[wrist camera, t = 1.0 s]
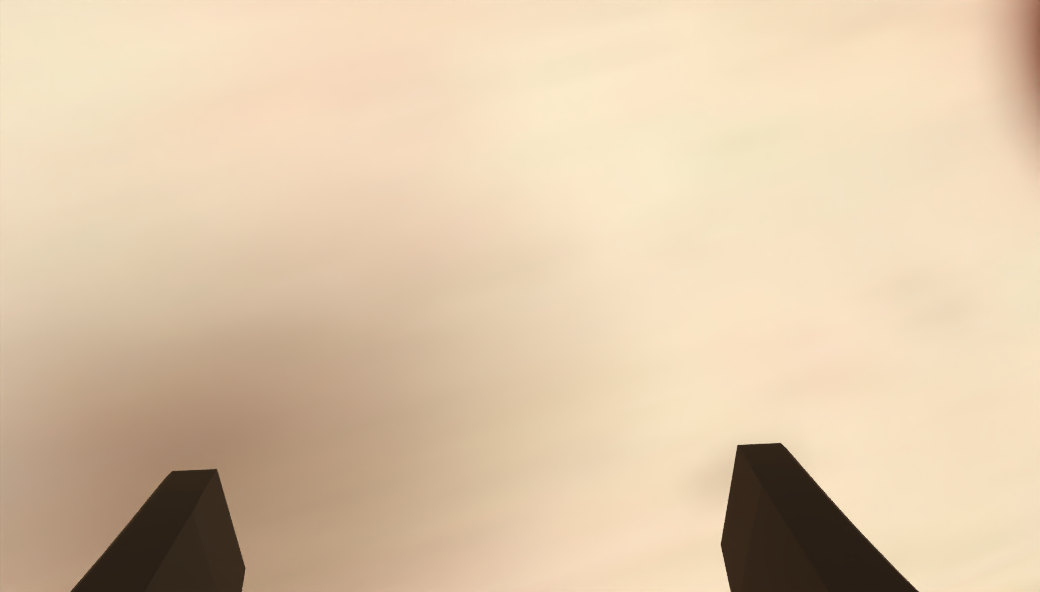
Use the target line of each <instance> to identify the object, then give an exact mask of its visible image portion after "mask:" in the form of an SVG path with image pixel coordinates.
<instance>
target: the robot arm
mask: <svg viewBox="0 0 1040 592" xmlns="http://www.w3.org/2000/svg"><path fill="white" fill-rule="evenodd" d="M721 548H722V553H723V557H724V562H725V567H726V572H727V576H728V581H729V586H730V590H731V592H918V591H917V590H916V589H915V588H914V587H913V586H912V585H911V584H910V583H909V582H908V581H907V580H906V579H905V578H904V577H903V576H902V575H901V574H900V573H899V572H898V571H897V570H896V569H895V568H894V566H893V565H892V564H891V563H890V562H889V561H888V560H887V559H886V558H885V557H884V556H883V555H882V554H881V553H880V552H879V551H878V550H877V549H876V548H875V547H874V546H873V545H872V544H871V543H870V541H869V540H868V539H867V538H866V537H865V536H864V535H863V534H862V533H861V532H860V531H859V530H858V529H857V528H856V527H855V526H854V524H853V523H852V522H851V521H850V520H849V519H848V518H847V517H846V516H845V515H844V513H843V512H842V511H841V510H840V509H839V508H838V507H837V506H836V505H835V503H834V502H833V501H832V500H831V499H830V498H829V497H828V496H827V494H826V493H825V492H824V491H823V490H822V489H821V488H820V486H819V485H818V484H817V483H816V482H815V481H814V480H813V478H812V477H811V476H810V475H809V474H808V473H807V472H806V470H805V469H804V468H803V467H802V466H801V465H800V463H799V462H798V461H797V460H796V459H795V458H794V457H793V455H792V454H791V453H790V452H789V451H788V450H787V449H786V448H785V447H784V446H783V445H782V444H781V443H772V444H750V445H737V451H736V457H735V463H734V469H733V475H732V481H731V487H730V493H729V499H728V505H727V511H726V517H725V523H724V529H723V535H722V541H721ZM244 574H245V566H244V562H243V559H242V555H241V552H240V548H239V545H238V541H237V538H236V534H235V531H234V527H233V524H232V520H231V517H230V513H229V510H228V506H227V503H226V499H225V496H224V492H223V489H222V485H221V482H220V478H219V475H218V471H217V469H210V470H188V471H172V472H171V473H170V474H169V475H168V476H167V477H166V478H165V479H164V480H163V482H162V483H161V484H160V485H159V486H158V488H157V489H156V490H155V491H154V492H153V494H152V495H151V496H150V497H149V499H148V500H147V501H146V502H145V504H144V505H143V506H142V507H141V508H140V510H139V511H138V512H137V513H136V515H135V516H134V517H133V518H132V520H131V521H130V522H129V523H128V524H127V526H126V527H125V528H124V529H123V530H122V532H121V533H120V534H119V535H118V537H117V538H116V539H115V540H114V541H113V543H112V544H111V545H110V546H109V547H108V549H107V550H106V551H105V552H104V553H103V555H102V556H101V557H100V558H99V559H98V560H97V562H96V563H95V564H94V565H93V566H92V567H91V569H90V570H89V571H88V572H87V573H86V574H85V575H84V577H83V578H82V579H81V580H80V581H79V582H78V584H77V585H76V586H75V587H74V588H73V589H72V590H71V592H242V587H243V580H244Z"/></svg>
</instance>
